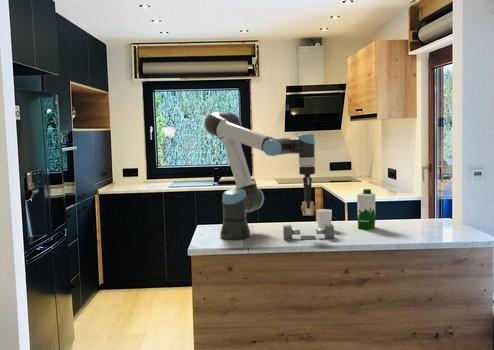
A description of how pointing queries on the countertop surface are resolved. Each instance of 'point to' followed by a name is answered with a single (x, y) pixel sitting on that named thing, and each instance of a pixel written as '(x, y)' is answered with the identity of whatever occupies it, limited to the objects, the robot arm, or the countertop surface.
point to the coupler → (311, 208)
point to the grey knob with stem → (327, 231)
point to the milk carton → (366, 209)
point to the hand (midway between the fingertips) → (307, 213)
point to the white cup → (323, 217)
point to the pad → (308, 237)
